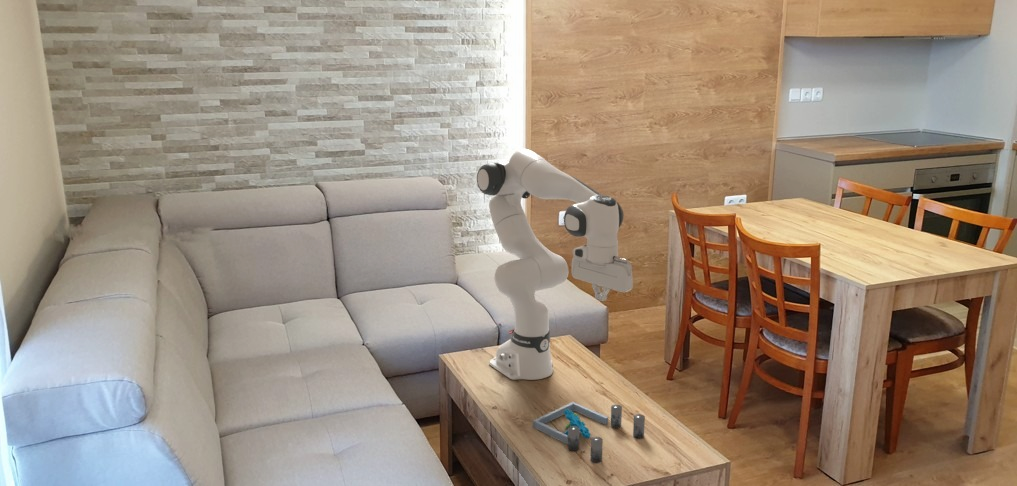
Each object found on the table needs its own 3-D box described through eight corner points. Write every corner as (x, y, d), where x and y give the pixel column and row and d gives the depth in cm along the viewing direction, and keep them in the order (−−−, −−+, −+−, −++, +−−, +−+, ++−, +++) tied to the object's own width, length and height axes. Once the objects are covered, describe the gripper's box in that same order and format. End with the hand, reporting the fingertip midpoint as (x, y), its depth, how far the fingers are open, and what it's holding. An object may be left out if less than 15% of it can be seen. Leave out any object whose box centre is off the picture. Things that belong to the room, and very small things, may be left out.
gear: (593, 440, 211) (567, 414, 210) (577, 454, 212) (551, 429, 211) (591, 426, 222) (567, 401, 221) (576, 439, 223) (552, 415, 222)
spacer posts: (565, 448, 210) (565, 428, 208) (615, 422, 224) (615, 403, 222) (596, 464, 202) (597, 443, 201) (646, 436, 216) (647, 416, 215)
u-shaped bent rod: (532, 427, 221) (532, 420, 221) (572, 407, 233) (573, 401, 232) (567, 444, 212) (568, 437, 211) (608, 423, 223) (608, 417, 223)
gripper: (638, 258, 215) (636, 305, 219) (582, 244, 229) (581, 289, 233) (624, 263, 211) (622, 311, 215) (568, 248, 225) (567, 293, 229)
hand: (600, 299), depth 224 cm, fingers closed
